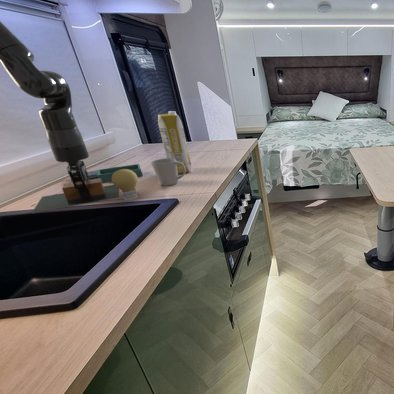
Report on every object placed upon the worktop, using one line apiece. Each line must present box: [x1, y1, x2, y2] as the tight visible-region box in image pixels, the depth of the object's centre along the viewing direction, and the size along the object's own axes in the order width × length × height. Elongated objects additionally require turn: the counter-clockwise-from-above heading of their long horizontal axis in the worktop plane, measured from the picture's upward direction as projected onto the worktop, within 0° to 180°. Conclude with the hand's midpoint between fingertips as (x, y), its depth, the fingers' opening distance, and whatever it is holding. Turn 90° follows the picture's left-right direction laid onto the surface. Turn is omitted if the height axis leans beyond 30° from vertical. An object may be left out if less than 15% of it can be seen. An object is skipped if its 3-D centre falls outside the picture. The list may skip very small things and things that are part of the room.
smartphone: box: [70, 166, 115, 182], centre depth 115 cm, size 8×2×15 cm
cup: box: [151, 157, 187, 187], centre depth 105 cm, size 8×10×8 cm
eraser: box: [61, 178, 106, 204], centre depth 92 cm, size 9×5×5 cm, turn 127°
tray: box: [96, 163, 143, 184], centre depth 112 cm, size 13×9×4 cm
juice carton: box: [157, 110, 192, 175], centre depth 116 cm, size 9×8×24 cm
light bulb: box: [111, 169, 139, 201], centre depth 90 cm, size 6×6×10 cm
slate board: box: [31, 184, 120, 214], centre depth 93 cm, size 20×16×1 cm
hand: (87, 196), depth 92 cm, fingers closed on eraser, 5 cm apart
